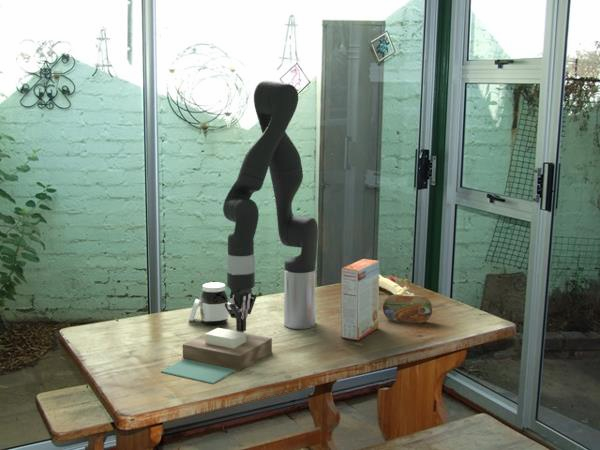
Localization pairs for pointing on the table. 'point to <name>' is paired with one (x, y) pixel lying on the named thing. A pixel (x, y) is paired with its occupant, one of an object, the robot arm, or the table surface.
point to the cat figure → (394, 285)
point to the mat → (198, 371)
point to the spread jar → (212, 304)
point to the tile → (225, 337)
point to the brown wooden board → (228, 352)
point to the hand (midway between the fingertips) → (241, 331)
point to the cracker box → (359, 299)
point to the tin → (407, 308)
